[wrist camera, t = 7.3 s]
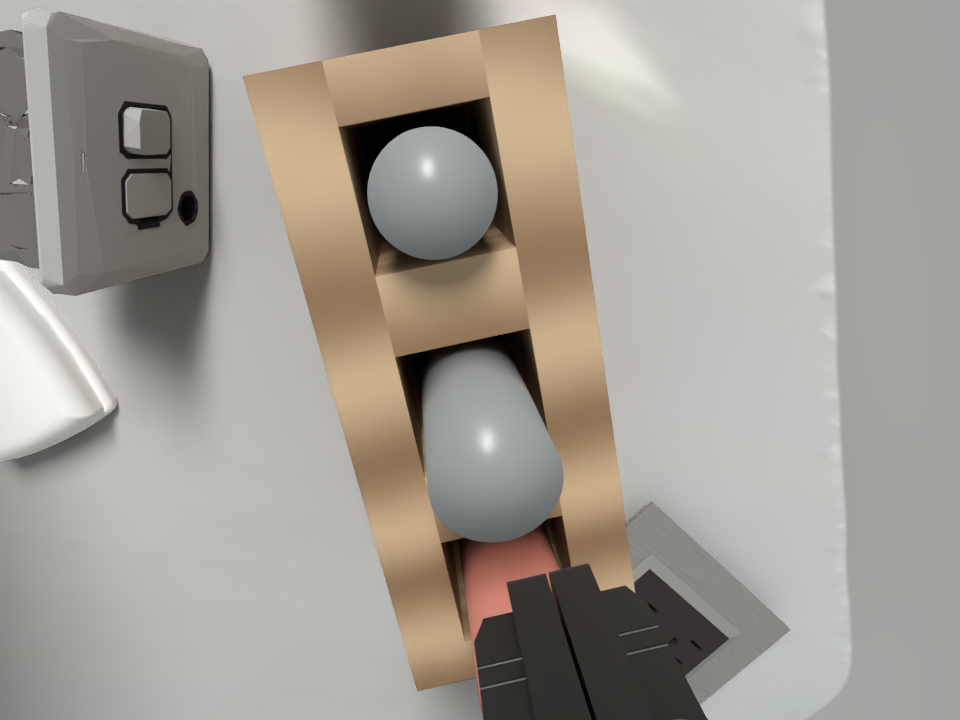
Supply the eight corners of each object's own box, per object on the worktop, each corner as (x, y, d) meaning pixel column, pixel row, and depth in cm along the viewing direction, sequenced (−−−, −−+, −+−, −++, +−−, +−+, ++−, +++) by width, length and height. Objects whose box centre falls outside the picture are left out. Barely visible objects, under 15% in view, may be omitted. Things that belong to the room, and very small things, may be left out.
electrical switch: (211, 261, 33) (115, 306, 24) (101, 248, 33) (-37, 289, 24) (212, 49, 30) (103, 11, 21) (91, 34, 30) (-71, -12, 21)
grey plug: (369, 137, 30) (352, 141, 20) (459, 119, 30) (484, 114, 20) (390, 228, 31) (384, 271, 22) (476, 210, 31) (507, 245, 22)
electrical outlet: (512, 602, 41) (518, 629, 39) (641, 485, 40) (655, 507, 37) (650, 709, 45) (663, 740, 43) (772, 607, 44) (792, 633, 41)
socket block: (292, 92, 31) (242, 76, 21) (509, 49, 31) (555, 14, 22) (414, 555, 39) (417, 691, 30) (584, 517, 39) (641, 638, 30)
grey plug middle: (410, 336, 29) (414, 436, 19) (503, 316, 29) (552, 406, 19) (430, 421, 30) (442, 555, 21) (519, 402, 30) (572, 526, 21)
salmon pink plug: (449, 500, 31) (468, 659, 22) (534, 480, 31) (590, 630, 22) (466, 571, 33) (491, 751, 23) (547, 553, 33) (606, 724, 23)
